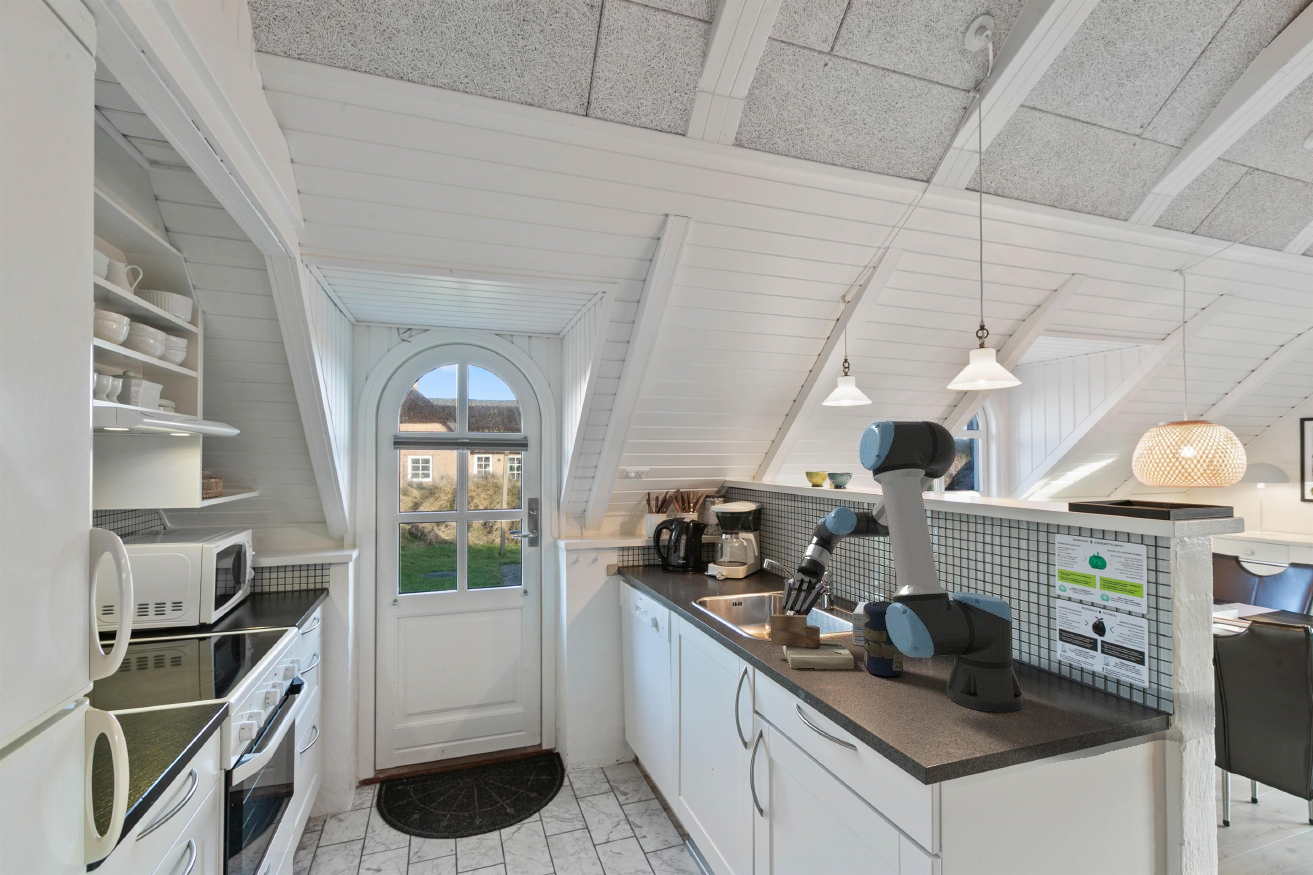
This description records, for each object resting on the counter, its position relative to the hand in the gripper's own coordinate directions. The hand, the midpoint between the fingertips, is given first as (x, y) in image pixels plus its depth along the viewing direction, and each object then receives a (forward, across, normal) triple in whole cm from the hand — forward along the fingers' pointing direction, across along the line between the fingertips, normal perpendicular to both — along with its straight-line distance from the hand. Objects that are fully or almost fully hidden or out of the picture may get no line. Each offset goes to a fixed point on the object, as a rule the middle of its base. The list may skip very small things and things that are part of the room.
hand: (784, 633), depth 172 cm
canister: (+1, -26, -8) cm, 27 cm away
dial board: (+2, -8, -6) cm, 10 cm away
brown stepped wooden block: (+1, -6, -2) cm, 6 cm away
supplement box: (-17, -13, -27) cm, 34 cm away
